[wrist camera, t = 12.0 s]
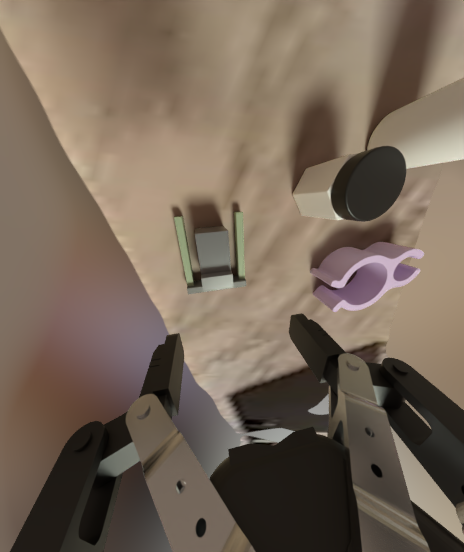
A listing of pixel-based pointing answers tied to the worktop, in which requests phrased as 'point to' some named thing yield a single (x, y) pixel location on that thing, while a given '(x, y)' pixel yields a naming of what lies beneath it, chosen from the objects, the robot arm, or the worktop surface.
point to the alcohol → (426, 128)
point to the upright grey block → (214, 258)
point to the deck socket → (191, 284)
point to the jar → (352, 185)
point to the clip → (363, 274)
